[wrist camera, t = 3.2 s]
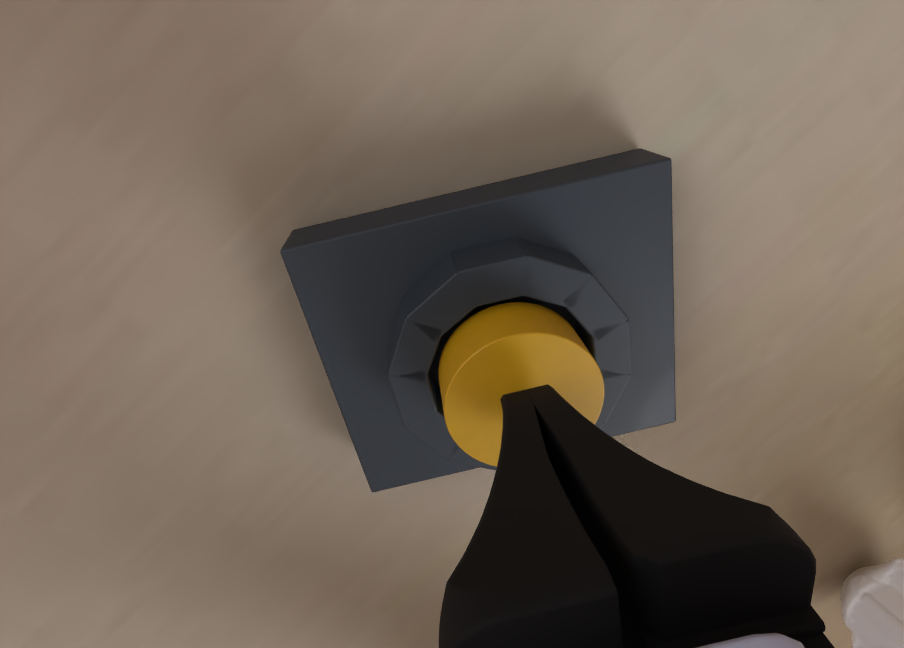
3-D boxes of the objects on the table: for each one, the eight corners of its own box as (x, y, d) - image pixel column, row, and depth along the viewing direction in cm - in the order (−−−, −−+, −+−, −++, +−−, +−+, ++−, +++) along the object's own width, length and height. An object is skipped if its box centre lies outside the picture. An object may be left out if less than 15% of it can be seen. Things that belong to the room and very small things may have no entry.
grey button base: (641, 147, 17) (704, 168, 14) (651, 390, 22) (701, 453, 18) (292, 229, 17) (265, 271, 14) (373, 455, 22) (369, 531, 18)
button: (574, 285, 15) (598, 315, 14) (587, 409, 18) (610, 448, 16) (423, 321, 16) (426, 355, 14) (454, 440, 18) (461, 483, 16)
